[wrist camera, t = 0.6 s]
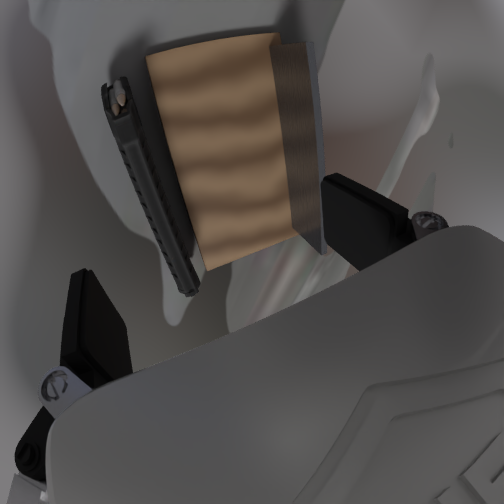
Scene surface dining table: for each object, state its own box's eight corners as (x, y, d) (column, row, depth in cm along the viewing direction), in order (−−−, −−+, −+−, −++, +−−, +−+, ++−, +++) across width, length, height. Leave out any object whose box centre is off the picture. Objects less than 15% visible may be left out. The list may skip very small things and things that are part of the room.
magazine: (211, 308, 43) (143, 124, 19) (191, 316, 43) (102, 141, 18) (177, 228, 52) (125, 71, 28) (161, 235, 52) (100, 81, 27)
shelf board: (145, 57, 29) (145, 56, 28) (274, 33, 33) (279, 32, 32) (204, 265, 50) (207, 271, 49) (298, 229, 54) (302, 233, 53)
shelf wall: (268, 46, 33) (305, 42, 26) (275, 45, 33) (313, 41, 26) (292, 227, 51) (321, 255, 44) (297, 225, 51) (326, 252, 45)
